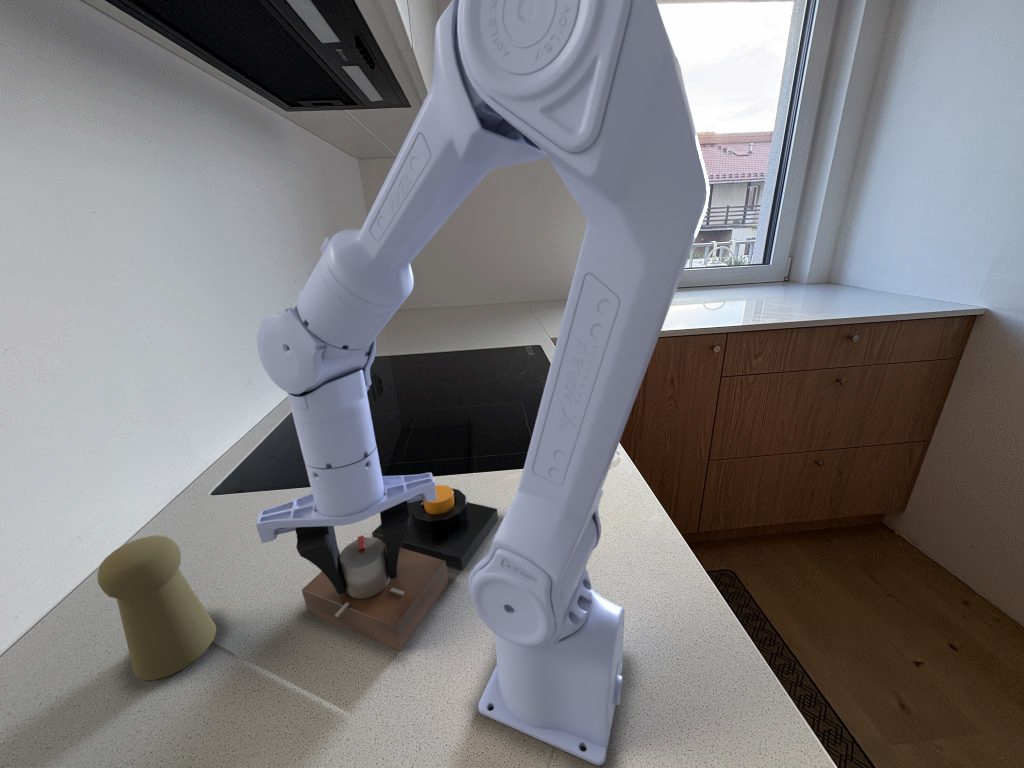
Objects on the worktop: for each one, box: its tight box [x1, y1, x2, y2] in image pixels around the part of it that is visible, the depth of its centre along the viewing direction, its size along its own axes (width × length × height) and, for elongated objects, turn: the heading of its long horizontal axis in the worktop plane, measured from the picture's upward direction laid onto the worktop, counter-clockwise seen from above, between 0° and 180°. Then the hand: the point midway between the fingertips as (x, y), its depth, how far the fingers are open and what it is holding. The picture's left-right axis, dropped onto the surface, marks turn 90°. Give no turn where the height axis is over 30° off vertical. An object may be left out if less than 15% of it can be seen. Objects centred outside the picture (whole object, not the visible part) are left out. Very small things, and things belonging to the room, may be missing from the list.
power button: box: [423, 484, 455, 514], centre depth 51 cm, size 4×4×2 cm
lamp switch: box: [371, 487, 499, 572], centre depth 50 cm, size 12×9×4 cm
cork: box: [96, 534, 217, 681], centre depth 36 cm, size 6×6×11 cm
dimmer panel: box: [301, 536, 449, 652], centre depth 41 cm, size 11×9×3 cm
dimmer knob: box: [339, 534, 390, 599], centre depth 39 cm, size 4×4×4 cm
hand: (368, 578), depth 40 cm, fingers closed on dimmer knob, 4 cm apart
